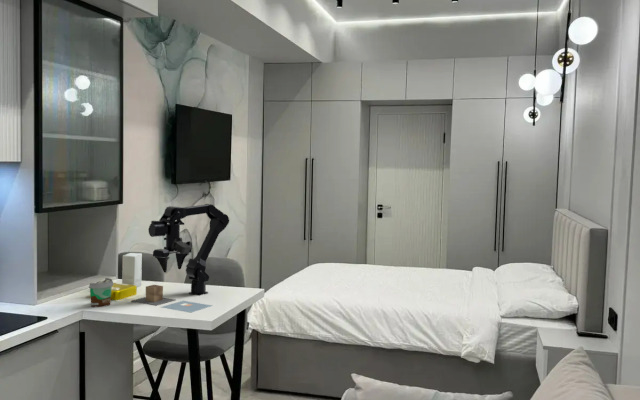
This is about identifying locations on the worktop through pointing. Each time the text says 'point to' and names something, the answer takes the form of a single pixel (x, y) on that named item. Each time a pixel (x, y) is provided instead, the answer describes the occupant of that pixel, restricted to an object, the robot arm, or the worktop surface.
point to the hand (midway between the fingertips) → (172, 270)
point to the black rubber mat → (143, 300)
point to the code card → (186, 306)
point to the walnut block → (154, 293)
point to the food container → (101, 293)
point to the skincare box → (132, 269)
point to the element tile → (122, 291)
